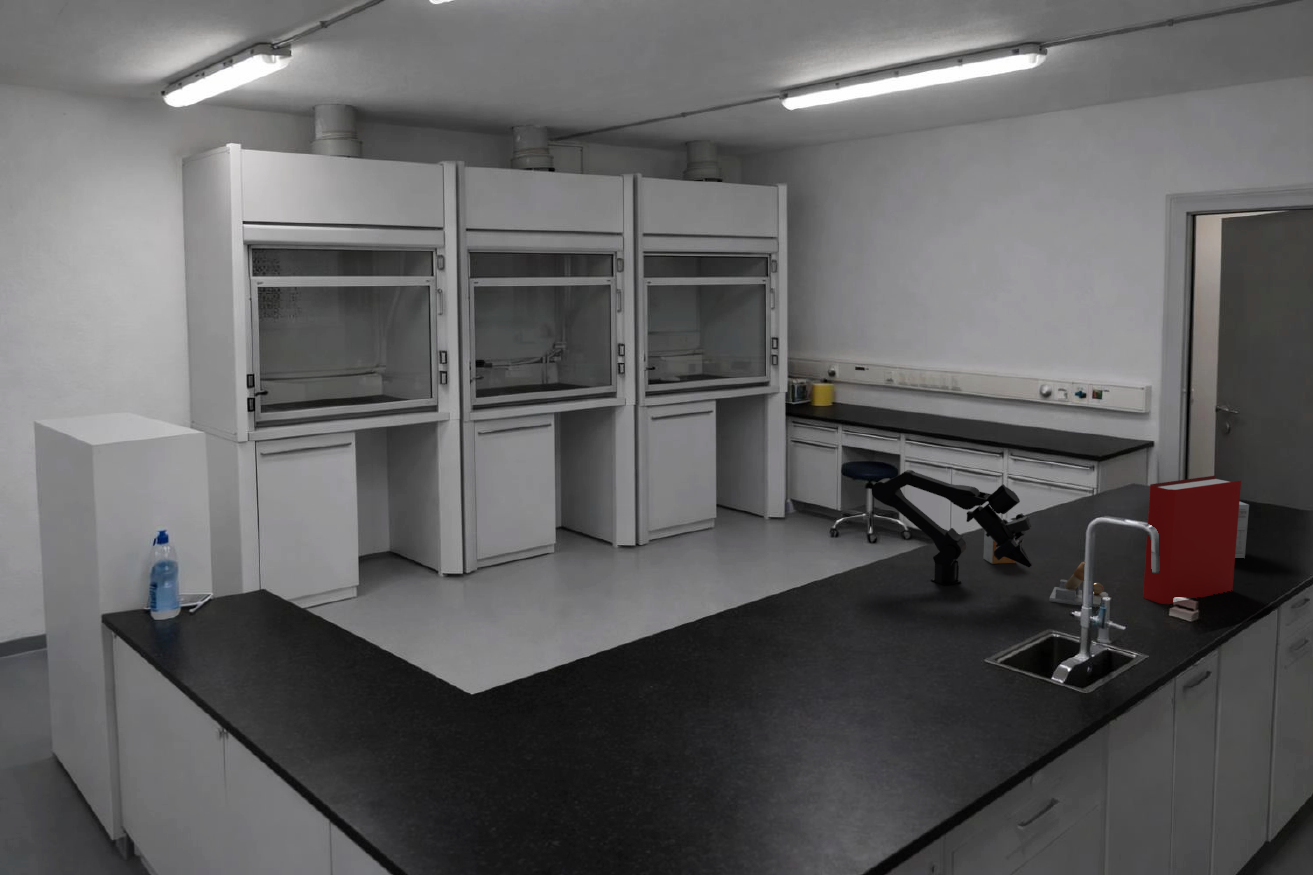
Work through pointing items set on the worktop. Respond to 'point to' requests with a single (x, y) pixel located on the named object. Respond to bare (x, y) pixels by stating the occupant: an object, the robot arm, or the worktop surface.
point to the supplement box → (1242, 530)
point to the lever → (1076, 578)
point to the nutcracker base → (1076, 594)
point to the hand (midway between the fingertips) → (1030, 566)
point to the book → (1192, 538)
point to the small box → (989, 550)
